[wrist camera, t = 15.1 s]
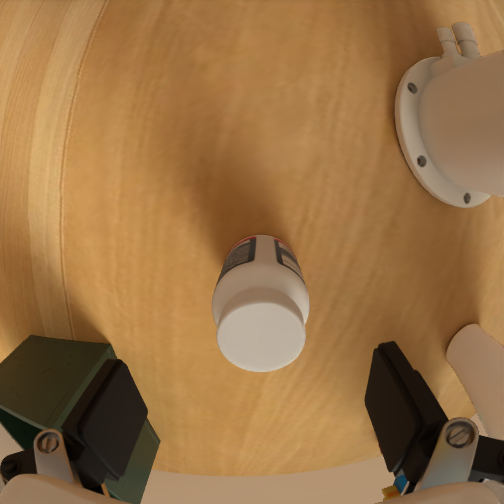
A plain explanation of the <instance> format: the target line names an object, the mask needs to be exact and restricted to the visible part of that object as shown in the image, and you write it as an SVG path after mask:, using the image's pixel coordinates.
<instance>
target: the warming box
mask: <svg viewBox="0 0 504 504" xmlns="http://www.w3.org/2000/svg"><path fill="white" fill-rule="evenodd" d="M108 358H110V359H117V357H116V355H115V353H114V350H113V348H112V346H111V344H102V343H90V342H80V341H71V340H62V339H55V338H47V337H41V336H34V335H30V336H29V337H28V338H27V339H26V340H24V341H23V342H22V343H21V344H20V345H19V346H18V347H17V348H16V349H15V350H14V351H13V352H12V353H11V354H10V355H9V356H7V357H6V358H5V359H4V360H3V361H2V362H1V363H0V424H1V425H2V426H3V427H4V428H5V430H6V431H7V432H8V433H9V435H10V436H11V437H12V438H13V439H14V440H15V441H16V442H17V444H18V445H19V446H20V447H21V448H22V449H23V450H27V449H30V448H33V447H34V440H35V438H36V436H37V435H38V434H39V433H40V432H41V431H43V430H46V429H56V430H58V431H59V432H60V433H62V431H63V430H62V429H61V428H60V427H61V426H62V424H63V423H64V421H65V419H66V418H67V416H68V415H69V413H70V412H71V410H72V409H73V407H74V406H75V404H76V403H77V401H78V400H79V398H80V397H81V395H82V394H83V392H84V391H85V389H86V388H87V386H88V385H89V383H90V382H91V380H92V379H93V378H94V376H95V375H96V373H97V372H98V370H99V369H100V367H101V366H102V365H103V363H104V362H105V360H106V359H108ZM159 444H160V440H159V438H158V436H157V435H156V433H155V431H154V430H153V428H152V426H151V425H150V423H149V421H148V419H147V418H146V420H145V423H144V425H143V428H142V430H141V433H140V435H139V438H138V440H137V443H136V445H135V448H134V450H133V453H132V455H131V458H130V460H129V463H128V466H127V468H126V471H125V474H124V475H123V476H122V477H120V479H119V481H118V482H115V481H112V480H108V479H106V478H105V481H104V484H105V486H106V488H107V491H108V493H109V495H110V497H111V498H114V499H117V500H120V501H123V502H127V503H130V504H140V503H141V499H142V496H143V493H144V490H145V486H146V484H147V481H148V478H149V475H150V471H151V468H152V465H153V462H154V459H155V456H156V453H157V450H158V447H159Z"/></svg>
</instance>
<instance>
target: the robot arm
mask: <svg viewBox="0 0 504 504" xmlns="http://www.w3.org/2000/svg"><path fill="white" fill-rule="evenodd" d="M452 29H453V32H454V34H455V37H456V40H457V43H458V45H459V46H460V49H461V53H462V55H461V54H460V53H458V52H457V48H456V45H455V44H456V43H455V40H454V37H453V34H452V31H451V29H449V28H447V27H439V28H437V29H436V32H437V35H438V38H439V41H440V44H441V45H442V48H443V52H444V53H443V54H442V55H441V57H437V56H436V57H429V58H425V59H423V60H421V61H419V62H417V63H416V64H414V65H413V66H411V67H410V68H409V69H408V70H407V71H406V73H405V74H404V75H403V77H402V79H401V81H400V83H399V86H398V88H397V93H396V98H395V123H396V131H397V135H398V139H399V143H400V146H401V149H402V152H403V154H404V156H405V159H406V161H407V164H408V165H409V167H410V169H411V170H412V172H413V174H414V176H415V177H416V178H417V180H418V181H419V182H420V184H421V185H422V186H423V187H424V188H425V189H426V190H427V191H428V192H429V193H430V194H431V195H432V196H433V197H435V198H437V199H438V200H440V201H442V202H443V203H446V204H449V205H452V206H456V207H461V208H469V207H475V206H477V205H480V204H482V203H483V202H485V201H486V200H487V199H488V198H490V196H491V195H495V196H499V197H503V198H504V50H501V51H498V52H495V53H492V54H489V55H486V56H484V57H482V56H480V53H479V50H478V47H477V45H478V44H477V41H476V38H475V35H474V33H473V30H472V27H471V26H470V25H469V24H467V23H463V22H457V23H454V24H453V25H452ZM417 159H418V163H417ZM365 406H366V408H367V411H368V414H369V417H370V419H371V422H372V425H373V428H374V431H375V433H376V436H377V439H378V442H379V445H380V448H381V451H382V454H383V457H384V459H385V462H386V466H387V469H388V471H389V472H393V473H394V476H395V477H399V476H401V475H405V478H406V481H408V482H407V484H406V486H405V488H404V490H403V492H402V494H401V495H400V497H396V498H393V499H390V500H386V501H383V502H379V503H375V504H504V440H499V439H494V438H490V437H485V436H481V435H479V430H478V427H477V426H476V424H475V423H474V422H473V421H471V420H470V419H467V418H463V417H458V418H453V419H451V420H448V418H447V416H446V415H445V413H444V411H443V410H442V408H441V406H440V405H439V403H438V401H437V400H436V398H435V396H434V395H433V393H432V392H431V390H430V388H429V387H428V385H427V384H426V382H425V380H424V379H423V377H422V376H421V374H420V373H419V372H418V371H417V370H414V369H413V368H412V366H411V365H410V363H409V362H408V360H407V359H406V357H405V356H404V354H403V353H402V351H401V350H400V348H399V347H398V345H397V344H396V342H395V341H390V342H386V343H381V344H379V345H378V348H375V349H374V352H373V358H372V364H371V369H370V375H369V380H368V385H367V389H366V394H365ZM147 415H148V410H147V407H146V405H145V403H144V401H143V399H142V397H141V395H140V393H139V391H138V389H137V387H136V385H135V382H134V380H133V378H132V376H131V374H130V371H129V369H128V367H127V365H126V364H125V363H123V361H122V360H120V359H110V358H108V359H106V360H105V362H104V363H103V365H102V366H101V367H100V369H99V370H98V372H97V373H96V375H95V376H94V378H93V379H92V380H91V382H90V383H89V385H88V386H87V388H86V389H85V391H84V392H83V394H82V395H81V397H80V398H79V400H78V401H77V403H76V404H75V406H74V407H73V409H72V410H71V412H70V413H69V415H68V416H67V418H66V419H65V421H64V423H63V424H62V426H61V427H60V428H61V429H62V430H63V431H62V433H60V432H59V431H58V430H56V429H46V430H43V431H41V432H40V433H39V434H38V435H37V436H36V438H35V440H34V447H33V448H30V449H27V450H24V451H21V452H18V453H14V454H11V455H8V456H7V457H5V458H4V459H3V461H2V462H1V466H0V504H130V503H127V502H123V501H120V500H117V499H114V498H111V497H110V495H109V493H108V491H107V488H106V486H105V484H104V481H105V478H106V479H108V480H112V481H115V482H118V481H119V479H120V477H122V476H123V475H124V474H125V471H126V468H127V466H128V463H129V460H130V458H131V455H132V453H133V450H134V448H135V445H136V443H137V440H138V438H139V435H140V433H141V430H142V428H143V425H144V423H145V420H146V418H147Z"/></svg>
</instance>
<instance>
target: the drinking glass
mask: <svg viewBox="0 0 504 504" xmlns="http://www.w3.org/2000/svg"><path fill="white" fill-rule="evenodd" d="M446 359H447V362H448V363H449V365H450V366H451V367H452V369H453V370H454V372H455V373H456V375H457V377H458V378H459V380H460V382H461V384H462V385H463V387H464V389H465V391H466V393H467V394H468V396H469V398H470V400H471V402H472V404H473V406H474V408H475V410H476V412H477V414H478V416H479V418H480V420H481V422H482V425H483V427H484V429H485V430H486V433H487V434H488V436H489V437H490V438H494V439H499V440H504V345H502V344H501V343H500V342H499V341H497V340H496V339H495V338H494V337H492V336H491V335H490V334H489V333H487V332H486V331H485V330H484V329H483V328H482V327H481V326H480V325H478V324H469V325H467V326H465V327H463V328H462V329H461V330H460V331H458V332H457V334H456V335H455V336H454V337H453V339H452V340H451V342H450V344H449V346H448V348H447V352H446Z"/></svg>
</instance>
